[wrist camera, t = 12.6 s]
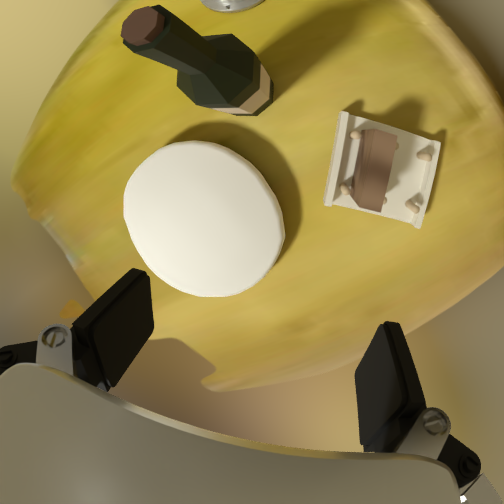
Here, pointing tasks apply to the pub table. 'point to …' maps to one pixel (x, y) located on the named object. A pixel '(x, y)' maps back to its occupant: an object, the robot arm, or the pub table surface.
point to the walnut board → (372, 168)
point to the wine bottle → (201, 62)
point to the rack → (401, 176)
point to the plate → (203, 219)
